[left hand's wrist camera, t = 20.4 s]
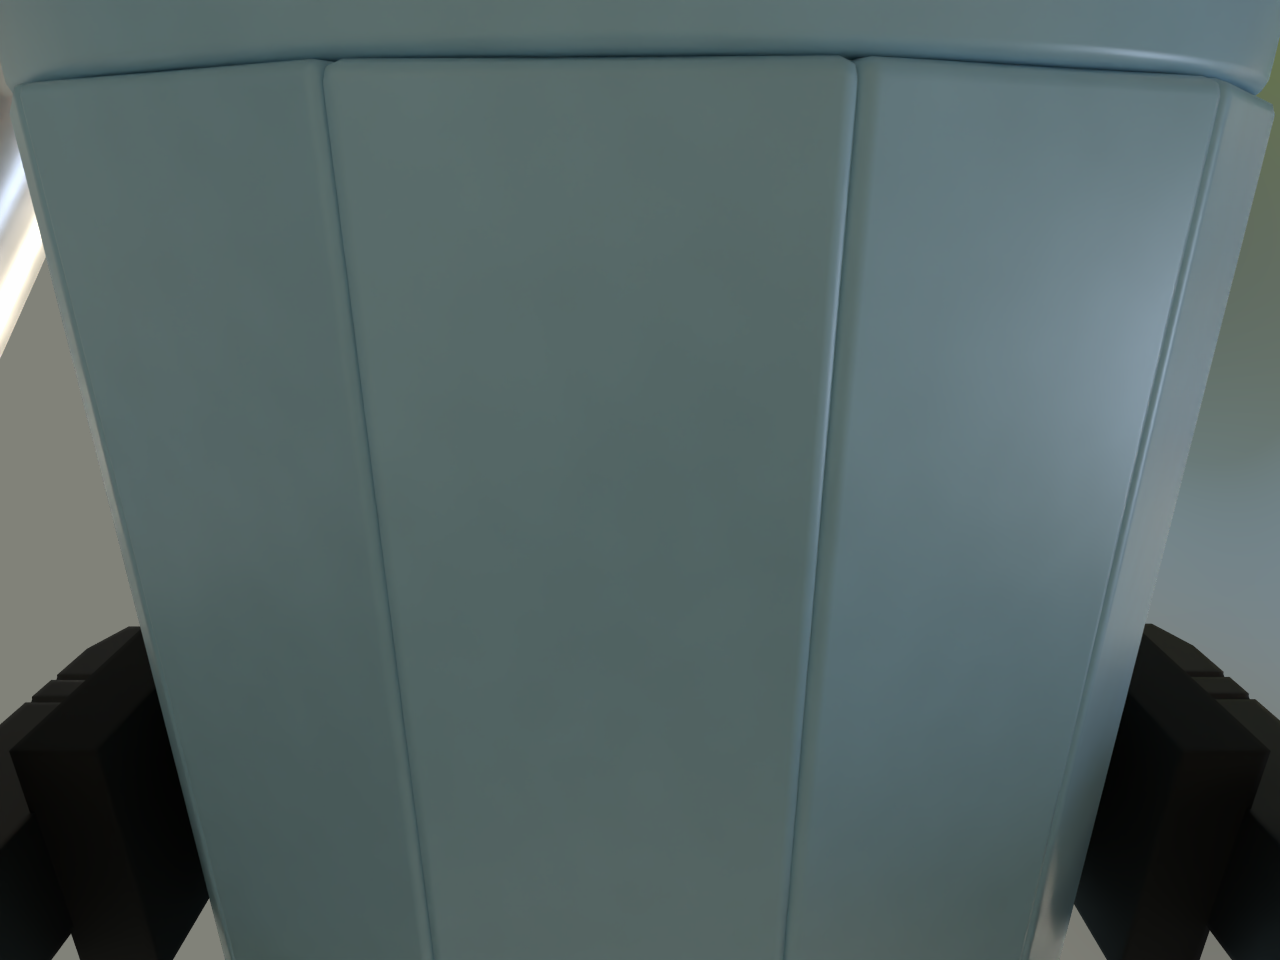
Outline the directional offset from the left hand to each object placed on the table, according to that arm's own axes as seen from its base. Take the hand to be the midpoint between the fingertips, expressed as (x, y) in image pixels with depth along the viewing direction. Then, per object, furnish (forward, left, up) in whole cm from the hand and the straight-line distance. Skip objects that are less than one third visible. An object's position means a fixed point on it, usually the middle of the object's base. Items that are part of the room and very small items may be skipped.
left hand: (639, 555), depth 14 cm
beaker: (+1, -4, -7) cm, 8 cm away
